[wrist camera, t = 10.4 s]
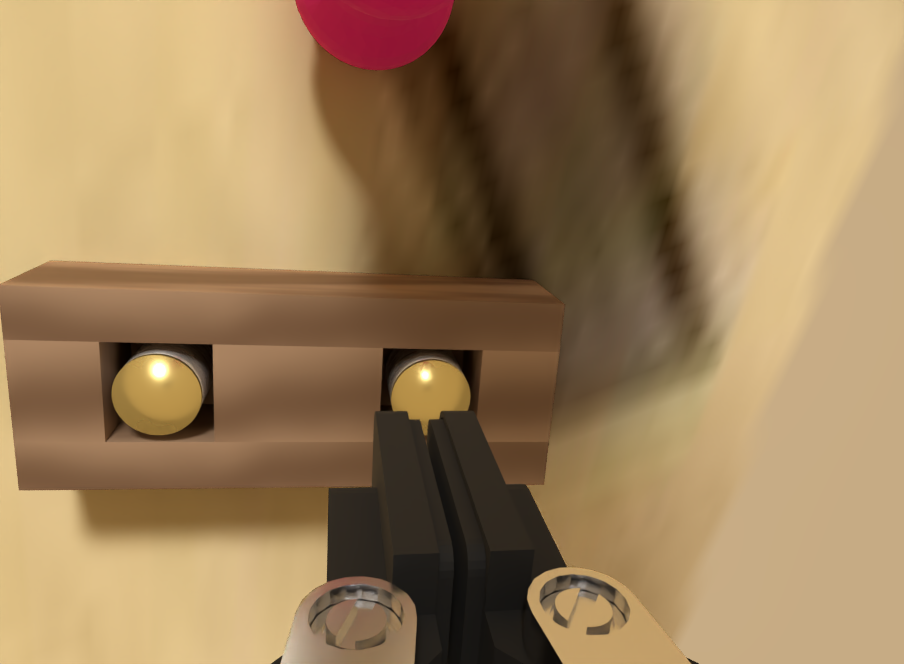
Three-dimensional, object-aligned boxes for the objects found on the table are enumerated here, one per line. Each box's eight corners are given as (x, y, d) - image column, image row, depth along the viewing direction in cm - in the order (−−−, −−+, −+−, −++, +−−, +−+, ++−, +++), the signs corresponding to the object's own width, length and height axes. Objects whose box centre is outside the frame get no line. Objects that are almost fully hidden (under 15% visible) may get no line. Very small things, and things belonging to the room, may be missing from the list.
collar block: (50, 260, 37) (-3, 285, 31) (533, 279, 41) (565, 304, 35) (65, 437, 39) (18, 490, 34) (516, 437, 44) (543, 484, 38)
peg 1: (135, 328, 36) (108, 354, 32) (216, 330, 37) (200, 356, 33) (139, 400, 37) (113, 435, 33) (217, 400, 38) (202, 435, 34)
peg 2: (386, 334, 39) (393, 360, 34) (458, 336, 39) (473, 361, 35) (383, 402, 40) (389, 435, 35) (453, 403, 40) (467, 435, 36)
